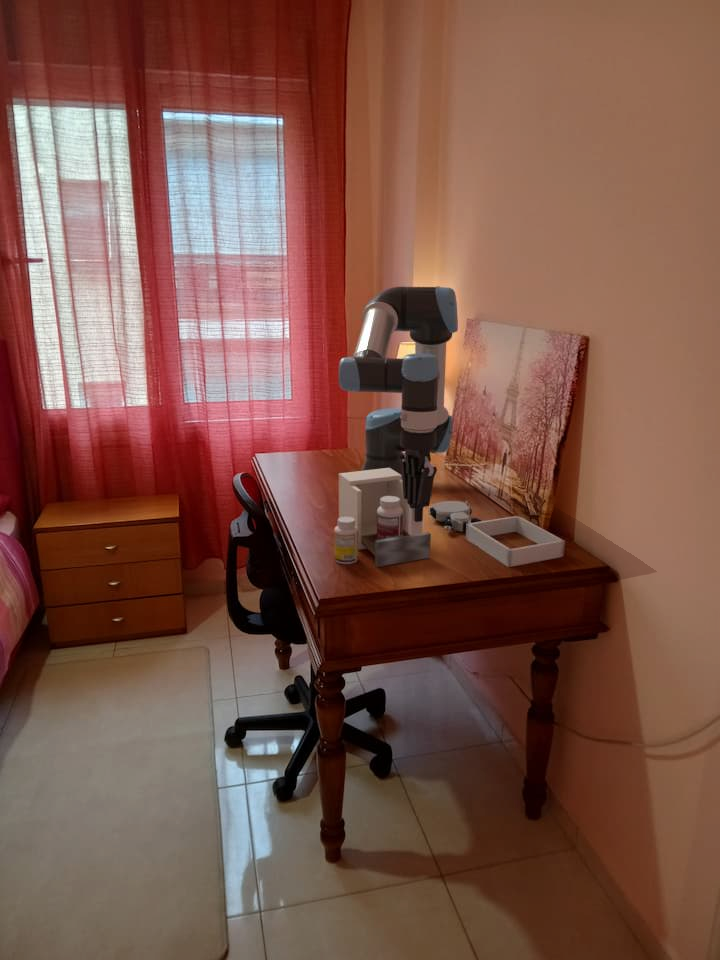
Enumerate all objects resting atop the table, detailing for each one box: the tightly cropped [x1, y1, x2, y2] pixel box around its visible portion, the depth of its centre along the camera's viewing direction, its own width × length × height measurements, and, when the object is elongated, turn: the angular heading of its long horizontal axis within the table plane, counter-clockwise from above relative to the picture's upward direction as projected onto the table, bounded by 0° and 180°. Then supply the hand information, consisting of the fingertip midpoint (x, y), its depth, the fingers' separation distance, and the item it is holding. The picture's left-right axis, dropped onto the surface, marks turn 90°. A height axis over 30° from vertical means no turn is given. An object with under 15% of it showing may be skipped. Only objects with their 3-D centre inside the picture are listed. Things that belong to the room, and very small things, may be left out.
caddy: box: [338, 468, 409, 551], centre depth 171 cm, size 14×12×16 cm
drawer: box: [362, 530, 432, 568], centre depth 162 cm, size 14×12×6 cm
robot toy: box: [426, 500, 482, 532], centre depth 182 cm, size 12×4×15 cm
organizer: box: [465, 515, 566, 568], centre depth 167 cm, size 16×19×4 cm
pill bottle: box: [377, 496, 403, 540], centre depth 163 cm, size 6×6×11 cm
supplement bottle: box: [333, 517, 359, 565], centre depth 158 cm, size 6×6×10 cm
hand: (415, 533), depth 151 cm, fingers closed
